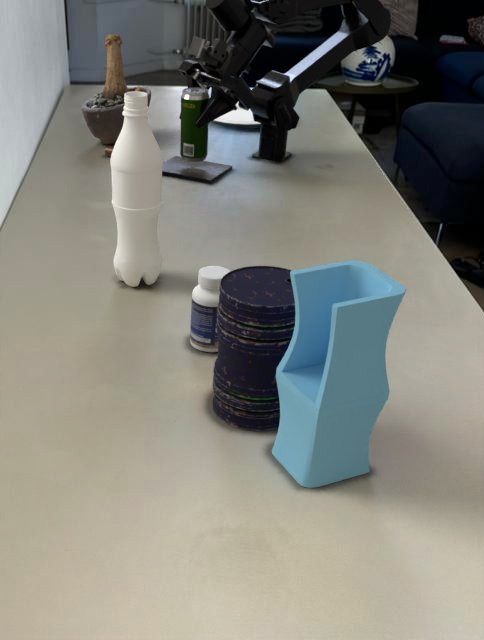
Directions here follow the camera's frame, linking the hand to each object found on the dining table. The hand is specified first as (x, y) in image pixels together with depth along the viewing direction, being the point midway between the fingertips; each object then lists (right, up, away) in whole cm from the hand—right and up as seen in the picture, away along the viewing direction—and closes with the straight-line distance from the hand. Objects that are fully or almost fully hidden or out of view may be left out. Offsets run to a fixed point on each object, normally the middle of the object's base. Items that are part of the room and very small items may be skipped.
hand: (188, 123), depth 146 cm
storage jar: (+5, -63, -57) cm, 85 cm away
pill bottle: (+1, -53, -46) cm, 70 cm away
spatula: (-5, -4, +9) cm, 11 cm away
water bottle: (-9, -40, -32) cm, 52 cm away
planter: (-15, +8, +22) cm, 28 cm away
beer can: (+1, -5, +5) cm, 7 cm away
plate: (+14, +19, +35) cm, 43 cm away
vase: (+11, -69, -65) cm, 95 cm away
